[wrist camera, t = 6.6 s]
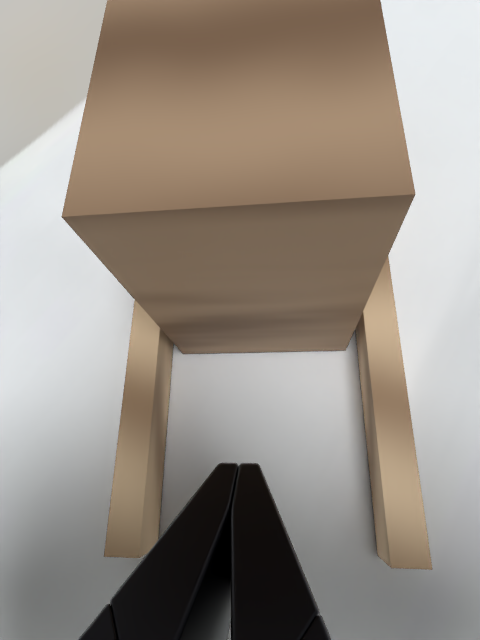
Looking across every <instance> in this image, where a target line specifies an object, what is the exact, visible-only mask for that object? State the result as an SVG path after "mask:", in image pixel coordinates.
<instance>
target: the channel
mask: <svg viewBox="0 0 480 640" xmlns="http://www.w3.org/2000/svg"><path fill="white" fill-rule="evenodd" d="M355 331H356V341H357V351H358V361H359V371H360V381H361V392H362V402H363V412H364V422H365V432H366V442H367V452H368V462H369V472H370V483H371V493H372V503H373V513H374V523H375V533H376V543H377V553H378V556H379V557H380V558H381V559H382V560H383V561H384V562H385V563H386V564H387V565H388V566H390V567H391V568H405V569H430V570H432V564H431V557H430V550H429V542H428V535H427V528H426V521H425V514H424V507H423V500H422V493H421V486H420V479H419V471H418V464H417V457H416V450H415V443H414V436H413V429H412V422H411V415H410V408H409V401H408V393H407V386H406V379H405V372H404V365H403V358H402V351H401V344H400V337H399V330H398V323H397V315H396V308H395V301H394V294H393V287H392V280H391V273H390V266H389V259H388V257H387V259H386V261H385V263H384V265H383V268H382V270H381V272H380V274H379V277H378V279H377V281H376V283H375V286H374V288H373V290H372V292H371V295H370V297H369V299H368V301H367V304H366V306H365V308H364V310H363V312H362V315H361V317H360V319H359V321H358V324H357V326H356V328H355ZM172 355H173V342H172V341H171V340H170V339H169V337H168V336H167V335H166V334H165V333H164V332H163V331H162V330H161V328H160V327H159V326H158V325H157V324H156V323H155V322H154V320H153V319H152V318H151V317H150V316H149V315H148V314H147V313H146V311H145V310H144V309H143V308H142V307H141V306H140V305H139V304H138V302H137V301H136V300H135V301H134V310H133V318H132V326H131V335H130V343H129V351H128V360H127V368H126V376H125V385H124V393H123V401H122V410H121V418H120V426H119V435H118V443H117V451H116V460H115V468H114V476H113V485H112V493H111V501H110V510H109V518H108V526H107V535H106V543H105V551H104V557H125V558H140V557H141V556H143V555H145V554H147V553H148V552H149V551H150V550H151V548H152V547H153V546H154V545H155V543H156V542H157V541H158V536H159V523H160V510H161V497H162V484H163V471H164V459H165V446H166V433H167V420H168V407H169V394H170V381H171V368H172Z"/></svg>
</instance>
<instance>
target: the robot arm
mask: <svg viewBox="0 0 480 640" xmlns="http://www.w3.org/2000/svg"><path fill="white" fill-rule="evenodd" d="M110 603H111V605H110V604H107V605H106V606H105V607H104V608H103V610H102V611H101V612H100V614H99V615H98V616H97V617H96V619H95V620H94V621H93V622H92V624H91V625H90V626H89V627H88V628H87V630H86V631H85V632H84V633H83V634H82V636H81V637H80V638H79V639H78V640H227V639H228V633H229V627H230V621H231V640H331V637H330V635H329V633H328V630H327V628H326V625H325V623H324V620H323V618H322V616H320V612H319V609H318V606H317V604H316V602H315V599H314V597H313V594H312V592H311V589H310V587H309V585H308V582H307V580H306V577H305V575H304V572H303V570H302V567H301V565H300V563H299V560H298V558H297V555H296V553H295V550H294V548H293V546H292V543H291V541H290V538H289V536H288V533H287V531H286V528H285V526H284V524H283V521H282V519H281V516H280V514H279V511H278V509H277V507H276V504H275V502H274V499H273V497H272V494H271V492H270V489H269V487H268V485H267V482H266V480H265V477H264V475H263V472H262V470H261V468H260V466H259V464H257V463H241V464H240V465H238V464H237V463H220V464H218V465H217V467H216V468H215V469H214V470H213V472H212V473H211V474H210V475H209V477H208V478H207V479H206V480H205V482H204V483H203V484H202V485H201V487H200V488H199V489H198V491H197V492H196V493H195V494H194V496H193V497H192V498H191V499H190V501H189V502H188V503H187V504H186V506H185V507H184V508H183V509H182V511H181V512H180V513H179V514H178V516H177V517H176V518H175V519H174V521H173V522H172V523H171V525H170V526H169V527H168V528H167V530H166V531H165V532H164V533H163V535H162V536H161V537H160V538H159V540H158V541H157V542H156V543H155V545H154V546H153V547H152V548H151V550H150V551H149V552H148V553H147V555H146V556H145V557H144V558H143V560H142V561H141V562H140V564H139V565H138V566H137V567H136V569H135V570H134V571H133V572H132V574H131V575H130V576H129V577H128V579H127V580H126V581H125V582H124V584H123V585H122V586H121V587H120V589H119V590H118V591H117V592H116V594H115V595H114V596H113V597H112V599H111V600H110Z"/></svg>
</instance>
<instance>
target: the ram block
mask: <svg viewBox="0 0 480 640" xmlns="http://www.w3.org/2000/svg"><path fill="white" fill-rule="evenodd" d="M414 196H415V190H414V184H413V179H412V173H411V168H410V162H409V157H408V151H407V145H406V140H405V134H404V129H403V123H402V118H401V112H400V107H399V101H398V96H397V90H396V85H395V79H394V74H393V68H392V63H391V57H390V52H389V46H388V41H387V35H386V30H385V24H384V19H383V13H382V8H381V2H380V0H108V1H107V5H106V10H105V14H104V19H103V24H102V28H101V33H100V38H99V43H98V47H97V52H96V56H95V61H94V66H93V71H92V75H91V80H90V85H89V90H88V94H87V99H86V104H85V109H84V113H83V118H82V123H81V128H80V132H79V137H78V142H77V146H76V151H75V156H74V161H73V165H72V170H71V175H70V180H69V184H68V189H67V194H66V199H65V203H64V208H63V213H62V218H63V219H64V220H65V221H66V222H67V223H68V225H69V226H70V227H71V228H72V229H73V230H74V231H75V232H76V234H77V235H78V236H79V237H80V238H81V239H82V240H83V241H84V243H85V244H86V245H87V246H88V247H89V248H90V249H91V251H92V252H93V253H94V254H95V255H96V256H97V257H98V258H99V260H100V261H101V262H102V263H103V264H104V265H105V266H106V267H107V269H108V270H109V271H110V272H111V273H112V274H113V275H114V276H115V278H116V279H117V280H118V281H119V282H120V283H121V284H122V285H123V287H124V288H125V289H126V290H127V291H128V292H129V293H130V295H131V296H132V297H133V298H134V299H135V300H136V301H137V302H138V304H139V305H140V306H141V307H142V308H143V309H144V310H145V311H146V313H147V314H148V315H149V316H150V317H151V318H152V319H153V320H154V322H155V323H156V324H157V325H158V326H159V327H160V328H161V330H162V331H163V332H164V333H165V334H166V335H167V336H168V337H169V339H170V340H171V341H172V342H173V343H174V344H175V345H176V346H177V348H178V349H179V350H180V351H181V352H182V353H183V354H195V353H242V352H289V351H335V350H346V348H347V346H348V344H349V342H350V339H351V337H352V335H353V333H354V330H355V328H356V326H357V324H358V321H359V319H360V317H361V315H362V312H363V310H364V308H365V306H366V304H367V301H368V299H369V297H370V295H371V292H372V290H373V288H374V286H375V283H376V281H377V279H378V277H379V274H380V272H381V270H382V268H383V265H384V263H385V261H386V259H387V257H388V254H389V252H390V250H391V248H392V245H393V243H394V241H395V239H396V236H397V234H398V232H399V230H400V227H401V225H402V223H403V221H404V218H405V216H406V214H407V212H408V209H409V207H410V205H411V203H412V201H413V198H414Z"/></svg>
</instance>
